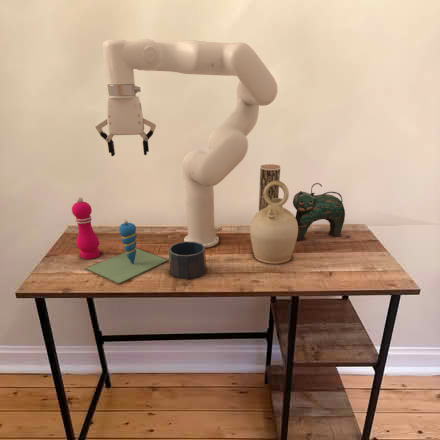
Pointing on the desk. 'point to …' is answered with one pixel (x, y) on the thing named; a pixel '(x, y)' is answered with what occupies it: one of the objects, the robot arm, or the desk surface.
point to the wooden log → (267, 176)
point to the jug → (274, 229)
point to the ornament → (129, 239)
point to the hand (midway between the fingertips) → (129, 154)
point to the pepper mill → (85, 230)
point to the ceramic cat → (318, 211)
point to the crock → (187, 259)
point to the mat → (126, 266)
